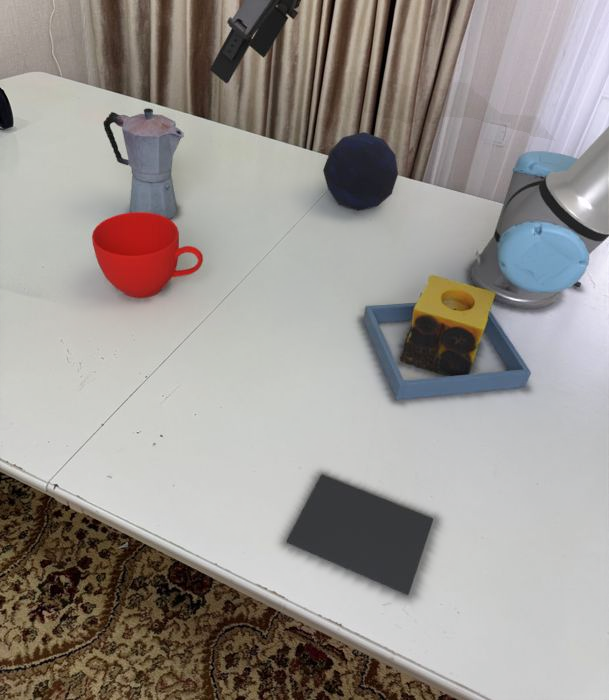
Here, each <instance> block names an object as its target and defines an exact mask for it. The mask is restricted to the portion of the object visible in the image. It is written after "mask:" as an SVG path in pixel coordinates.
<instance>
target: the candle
mask: <svg viewBox="0 0 609 700" xmlns="http://www.w3.org/2000/svg"><path fill="white" fill-rule="evenodd" d="M494 297H495V292H493V291H490V290H486V289H482V288H478V287H476V286H475V285H471V284H468V283H464V282H460V281H457V280H452V279H448V278H445V277H442V276H438V275H436V274H430V275H429V276H428V278H427V283H426V285H425V287H424V289H423V291H422V292H421V293H420V296H419V298H418V300H417V301H416V302H415V303H416V305H415V307H414V311H413V319H412V320H411V326H410V328H409V331H408V332H407V335H406V338H405V340H404V344H403V349H402V352H401V355H400V359H399V360H400V362H401V363H405V364H407V365H411V366H414V367H416V368H420V369H424V370H426V371H429V372H434V373H436V374H440V375H442V376H446V377H447V376H458V375H469V374H470V372H471V370H472V367H473V365H474V362H475V358H476V355H477V352H478V348H479V345H480V343H481V339H482V337H483V335H484V333H485V332H484V329H485V326H486V323H487V320H488V317H489V311H490V312H491V309H492V305H493V303H494V301H495V300H494Z"/></svg>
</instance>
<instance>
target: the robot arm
mask: <svg viewBox="0 0 609 700" xmlns="http://www.w3.org/2000/svg"><path fill="white" fill-rule="evenodd" d="M301 3H302V0H244V1H243V2H242V3H241V5H240V7H239V8H238V10H237V11H236V12H235V14H234V15H233V17H231V16H230V17H228V19H227V21H226V24H228V27H230V29H231V30H230V31H229V32H228V35H227V37H226V38H225V40H224V42H223V43H222V46H221V48H220V50H219V52H218V53H217V55H216V57H215V59H214V60H213V62H212V64H211V65H210V68H209V71H211V72H212V73H213V74H214V75H215V76H217V78H219V79H220V80H221V81H222V82H223V83H225V84H228V83H229V82H230V81H231V79H232V77H233V75H235V72H236V70H237V68H238V67H239V65H240V63H241V62H242V60H243V58H244V56H245V55H246V53H247V51H248V49H249V48H251V49H253V50H254V51H255V52H256V53H257V54H258V55H260V57H262V58H265V57H267V54H268V53H269V52H270V49H271V48H272V46H273V44H274V43H275V41H276V40H277V38H278V36H279V35H280V33H281V31H282V30H283V28H284V26H285V24H286V23H287V21H288V20H289V18H291V19H292V20H294V19H296V17H297V16H298V14H299V12H298V10H296V9H298V8H299V7H300V6H301ZM288 16H289V17H288ZM502 204H503V205H502V207H501V211H500V214H499V217H498V221H497V223H496V227H495V230H494V234H493V236H492V238H491V239H490V240H489V242H488V243H487V245H486V246H485V247H484V248H483V250H482V251H481V253H480V254H479V251H478V249H476V250H475V257H476V259H474V262H473V265H472V268H471V272H470V277H471V281H472V283H473V286H474V287H478V288H482V289H486V290H490V291H493V292H495V297H494V300H493V301H495V302H496V303H498V304H501V305H504V306H509V307H512V308H516V309H517V308H518V309H523V310H524V309H527V310H535V309H541V308H546V307H548V306H550V305H553V304H554V303H555V302H556V301H557V300H558V298H559V296H560V294H561V292H562V291H565V290H567V289H569V288H570V287H572V286H574V287H576V288H580V287H581V286H582V283H581V282H580V280H581V279H582V277H583V276H584V274H585V272H586V270H587V268H588V266H589V263H590V254H591V253H593V251H595V250H596V249H598V247H599V246H600V245H601V244H602V243H604V241H605V240H607V239H608V238H609V126H608V127H607V128H605V130H604V131H602V133H601V134H600V135H598V137H597V138H596V139H595V140H594V141H593V142H592V144H590V146H589V147H588V148H587V149H586V150H584V152H583V153H582V154H580V157H578V158H577V157H574V156H571V155H567V154H562V153H560V152H559V153H558V152H553V151H544V150H534V151H527V152H525V153H522V154H521V155H520V156H519V157H518V158H517V160H516V163H515V165H514V168H512V175H511V179H510V181H509V184H508V188H507V192H506V195H505V198H504V201H503V203H502Z"/></svg>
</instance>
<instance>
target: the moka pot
mask: <svg viewBox="0 0 609 700" xmlns="http://www.w3.org/2000/svg"><path fill="white" fill-rule="evenodd" d="M153 112H154V109H152V108H150V107H149V108H148V107H146V108H144V109H143V113H139V114H135V115H132V116H128V115H126V114H118V113H116V112H113V111H111V112H110V114H108V116H106V118H105V120H103V123H102V124H103V127H104V128H103V129H104V131H105V134H106V137H107V138H108V141H109V144H110V146H111V148H112V149H113V154H114V155H115V158H116V161H117V163H119V164H121V165H124V166H129V167H130V168H131V174H132V176H131V185H130V186H131V188H130V200H129V201H130V202H129V203H130V204H129V213H134V212H145V213H153V214H157V215H161V216H163V217H166V218H168V219H170V220H171V219H173V217H175V216H176V215H177V201H176V196H175V194H176V193H175V188H174V182H173V177H172V173H173V171H172V170H173V169H172V168H173V161H174V160H173V159H174V155H175V153H176V150H177V148H178V146H179V144H180V142H181V140H182V139H183V138H185V132H184V131H182V130H181V129H180V128H179V127H177V126H176V125H177V123H176V121H175V120H173V119H171V118H169V117H166V116H164V115H163V114H157V113H153ZM113 123H114V124H115V125H117V126H118V127H120V128H121V132H122V136H123V140H124V145H125V150H126V155H127V159H126V158H123V157H122V154H121V152H120V150H119V146H118V144H117V140H116V138H115V136H114V132H113V130H112V128H111V124H113Z"/></svg>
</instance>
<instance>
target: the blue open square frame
mask: <svg viewBox="0 0 609 700" xmlns="http://www.w3.org/2000/svg"><path fill="white" fill-rule="evenodd" d="M416 303H417V302H406V303H405V302H404V303H403V302H402V303H391V304H390V303H389V304H376V305H375V304H374V305H365V307H364V312H363V319H362V322H363V324H364V327H365V329H366V332H367V334H368V336H369V339H370V341H371V343H372V346H373V348H374V351H375V353H376V355H377V358H378V360H379V362H380V366H381V367H382V370H383V372H384V374H385V376H386V379H387V381H388V384H389V386H390V389H391V391H392V393H393V396H394V398H395V400H396V401H403V400H404V401H405V400H414V399H422V398H433V397H443V396H454V395H462V394H463V395H464V394H473V393H481V392H482V393H483V392H491V391H503V390H511V389H512V390H513V389H522V388H523V389H524V388H526V386H527V384H528V382H529V379H530V376H531V374H532V371H531V370H530V368H529V366H528V365H527V364H526V362H525V361H524V360H523V358H522V356H521V355H520V353H519V351H517V349H516V348H515V346H514V344H513V343H512V341H511V340H510V339H509V337H508V336H507V334H506V332H505V331H504V329H503V327H502V326H501V325H500V324H499V322H498V320H497V319H496V317H495V316H494V314H493V313H492V312H491V310H490V311H489V317H488V320H487V323H486V326H485V329H484V332H483V333H484V334H485V335H486V336H487V338H488V340H489V342H490V344H491V345H492V346H493V347H494V349H495V351H496V352H497V354H498V355H499V357H500V358H501V360H502V362H503V363H504V365H505V367H506V368H507V370H502V371H492V372H491V371H489V372H481V373H469V375H458V376H447V375H446V376H438V377H427V378H418V379H406V380H404V379H403V376H402V374H401V372H400V370H399V367H398V365H397V362H396V361H395V358H394V356H393V354H392V352H391V350H390V346H389V345H388V342H387V341H386V338H385V335H384V334H383V331H382V329H381V326H380V325H379V323H394V322H395V323H396V322H407V321H408V322H409V321H412V319H413V311H414V307H415V305H416Z"/></svg>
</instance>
